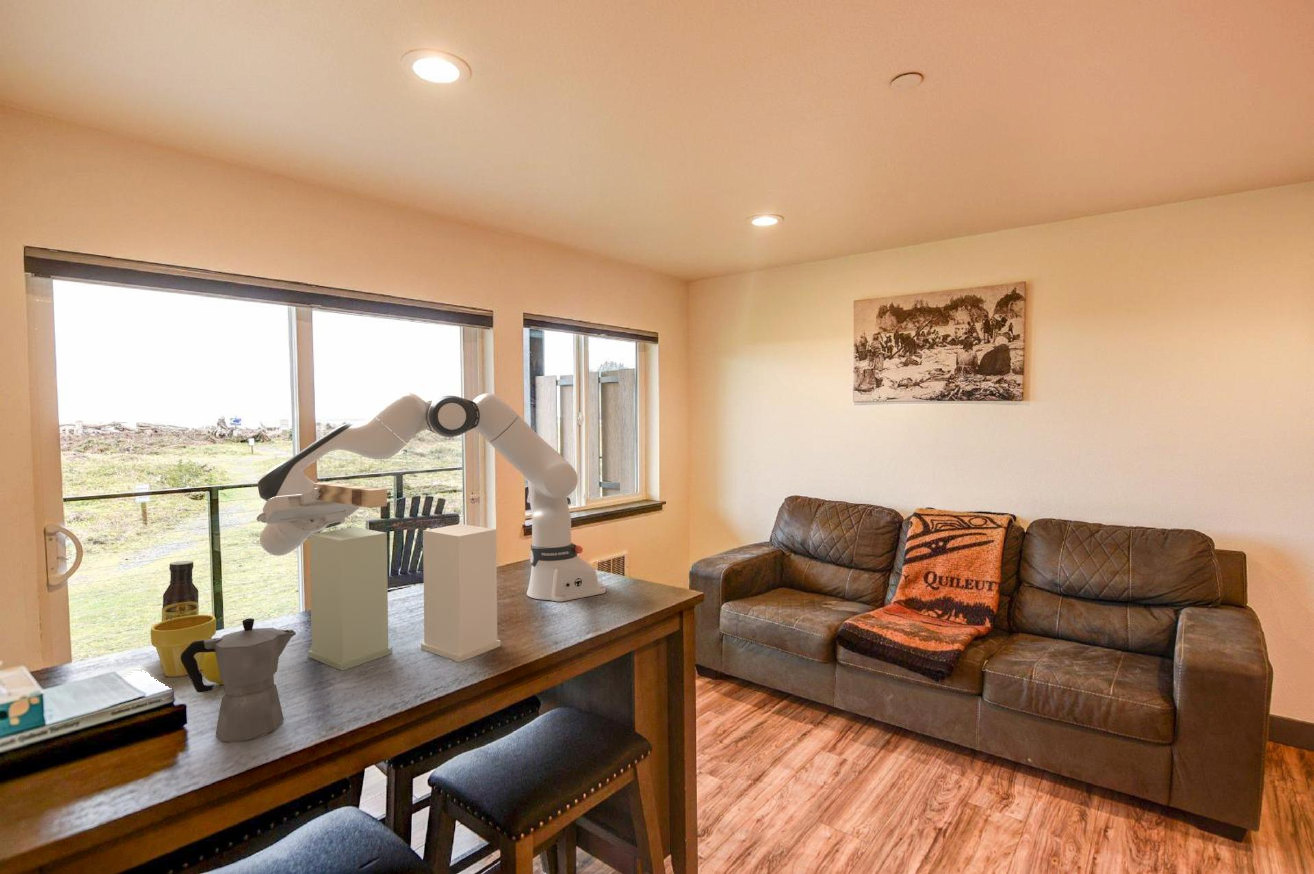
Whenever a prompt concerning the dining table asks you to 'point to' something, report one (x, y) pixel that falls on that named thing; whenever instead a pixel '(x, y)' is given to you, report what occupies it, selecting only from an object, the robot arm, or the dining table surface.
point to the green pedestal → (349, 597)
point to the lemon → (211, 668)
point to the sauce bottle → (180, 592)
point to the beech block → (352, 494)
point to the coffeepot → (243, 679)
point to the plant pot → (181, 640)
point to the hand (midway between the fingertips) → (330, 489)
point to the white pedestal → (460, 591)
